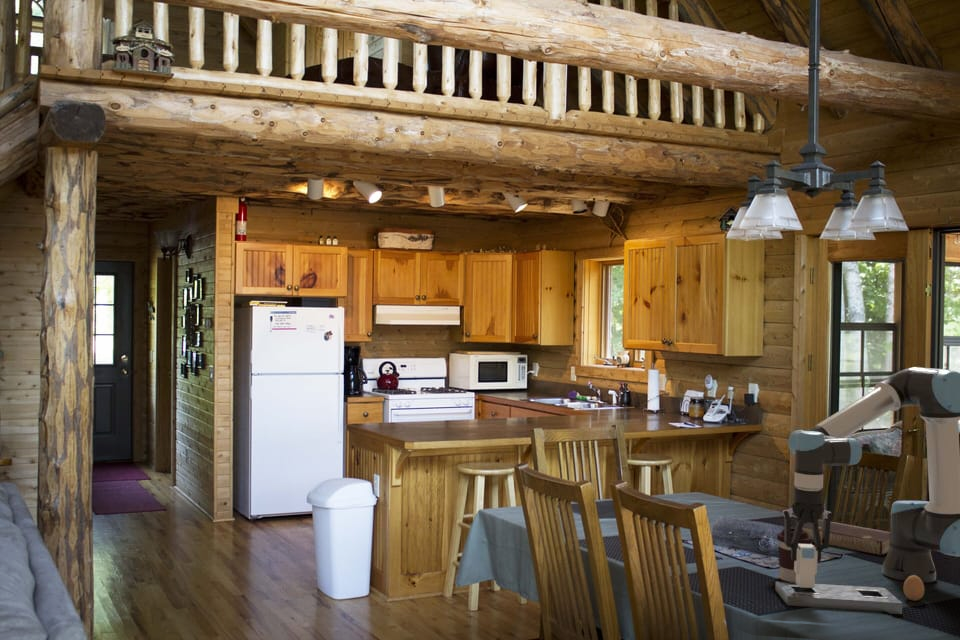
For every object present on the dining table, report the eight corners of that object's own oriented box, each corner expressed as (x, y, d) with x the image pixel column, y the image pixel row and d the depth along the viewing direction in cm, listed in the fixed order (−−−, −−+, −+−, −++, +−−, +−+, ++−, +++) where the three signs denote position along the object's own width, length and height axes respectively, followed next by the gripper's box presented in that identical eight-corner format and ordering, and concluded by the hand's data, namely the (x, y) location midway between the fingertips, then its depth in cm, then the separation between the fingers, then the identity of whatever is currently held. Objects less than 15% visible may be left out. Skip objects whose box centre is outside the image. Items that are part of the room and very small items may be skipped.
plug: (810, 583, 271) (811, 544, 270) (814, 588, 266) (816, 548, 266) (795, 583, 271) (797, 543, 271) (799, 587, 266) (801, 547, 266)
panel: (884, 598, 274) (884, 587, 274) (901, 614, 260) (902, 602, 260) (775, 591, 276) (775, 581, 276) (787, 607, 262) (787, 595, 262)
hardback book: (900, 547, 338) (901, 532, 338) (881, 556, 324) (882, 541, 324) (819, 531, 358) (819, 518, 357) (797, 539, 344) (798, 525, 343)
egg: (922, 604, 270) (924, 579, 270) (901, 600, 272) (902, 575, 272) (924, 599, 275) (926, 574, 274) (903, 596, 277) (905, 571, 277)
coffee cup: (812, 587, 283) (814, 535, 282) (776, 583, 285) (779, 532, 284) (808, 577, 292) (810, 528, 292) (773, 574, 294) (775, 525, 294)
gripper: (836, 486, 271) (833, 570, 272) (773, 484, 273) (770, 567, 273) (844, 492, 264) (841, 578, 264) (779, 489, 265) (776, 575, 266)
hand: (805, 572), depth 269 cm, fingers closed on plug, 4 cm apart
